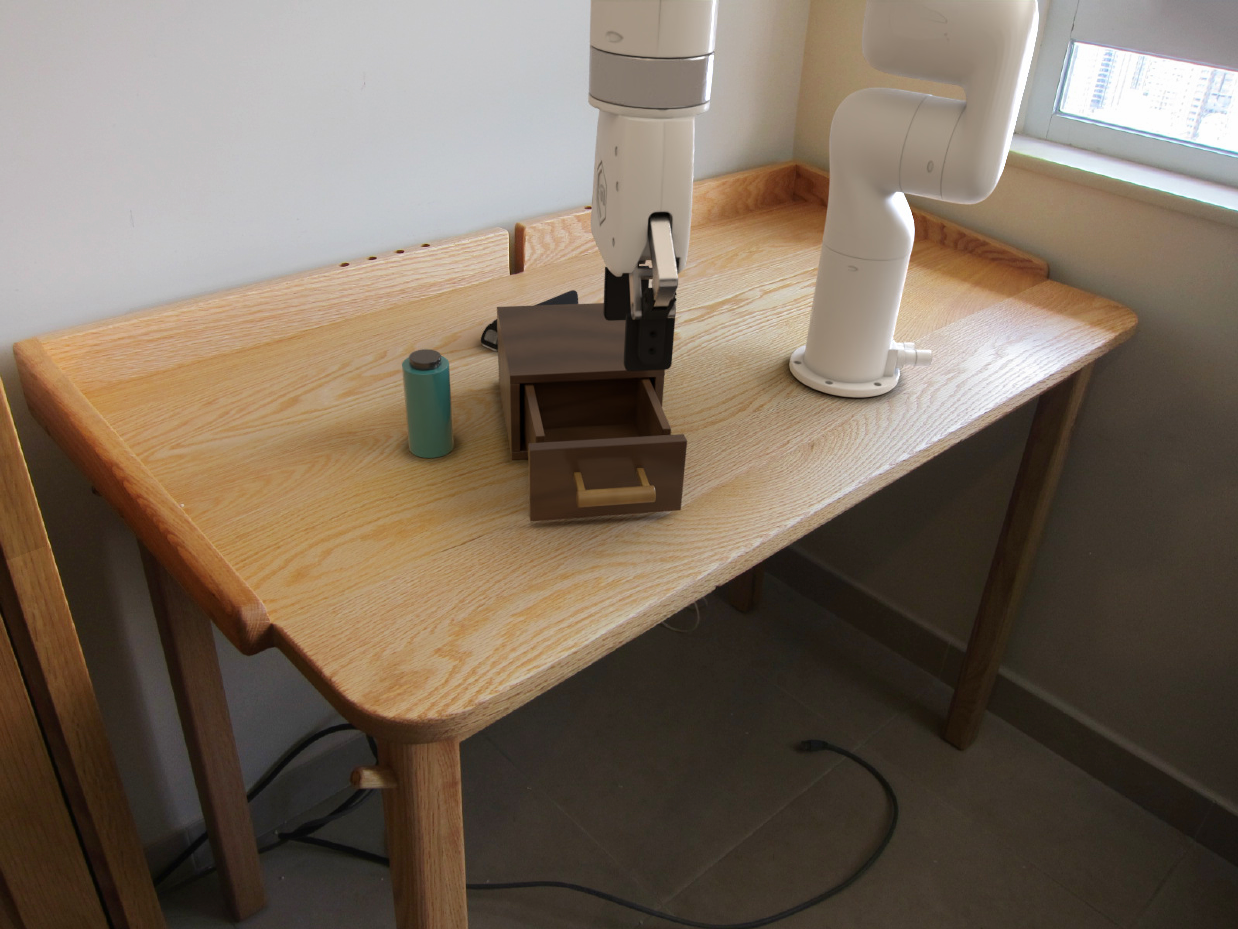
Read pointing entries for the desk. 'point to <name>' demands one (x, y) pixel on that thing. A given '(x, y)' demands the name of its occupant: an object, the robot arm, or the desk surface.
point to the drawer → (600, 449)
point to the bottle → (428, 403)
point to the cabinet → (557, 354)
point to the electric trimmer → (571, 297)
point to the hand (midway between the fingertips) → (635, 340)
